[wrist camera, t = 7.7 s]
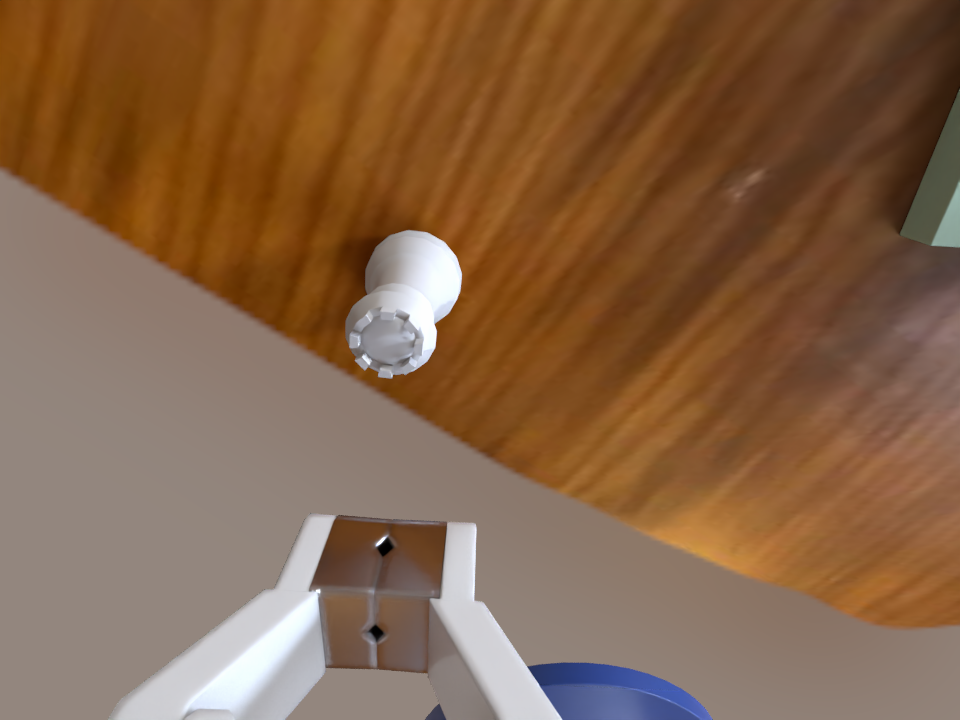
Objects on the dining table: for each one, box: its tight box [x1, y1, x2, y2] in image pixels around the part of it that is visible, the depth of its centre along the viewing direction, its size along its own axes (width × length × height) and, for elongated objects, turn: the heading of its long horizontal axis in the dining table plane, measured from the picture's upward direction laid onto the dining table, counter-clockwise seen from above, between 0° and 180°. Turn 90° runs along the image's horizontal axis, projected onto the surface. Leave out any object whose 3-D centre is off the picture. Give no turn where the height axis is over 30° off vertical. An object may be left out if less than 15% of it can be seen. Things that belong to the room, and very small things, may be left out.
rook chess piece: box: [346, 230, 462, 378], centre depth 21 cm, size 4×4×8 cm
